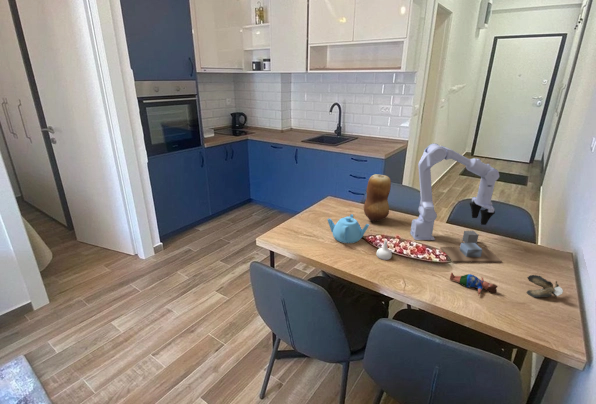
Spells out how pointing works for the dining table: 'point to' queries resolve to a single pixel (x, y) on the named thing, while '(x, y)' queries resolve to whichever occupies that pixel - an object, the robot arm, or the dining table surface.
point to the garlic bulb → (384, 252)
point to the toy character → (474, 283)
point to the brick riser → (470, 254)
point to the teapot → (347, 229)
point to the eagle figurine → (546, 285)
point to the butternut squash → (377, 197)
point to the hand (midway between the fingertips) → (478, 221)
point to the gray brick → (470, 237)
